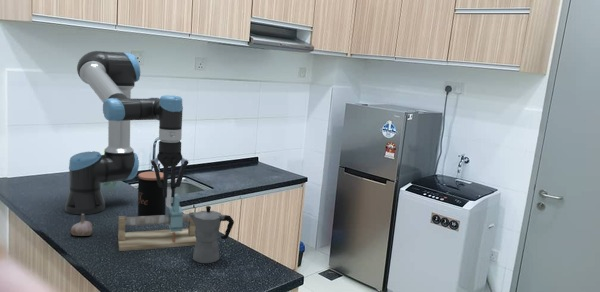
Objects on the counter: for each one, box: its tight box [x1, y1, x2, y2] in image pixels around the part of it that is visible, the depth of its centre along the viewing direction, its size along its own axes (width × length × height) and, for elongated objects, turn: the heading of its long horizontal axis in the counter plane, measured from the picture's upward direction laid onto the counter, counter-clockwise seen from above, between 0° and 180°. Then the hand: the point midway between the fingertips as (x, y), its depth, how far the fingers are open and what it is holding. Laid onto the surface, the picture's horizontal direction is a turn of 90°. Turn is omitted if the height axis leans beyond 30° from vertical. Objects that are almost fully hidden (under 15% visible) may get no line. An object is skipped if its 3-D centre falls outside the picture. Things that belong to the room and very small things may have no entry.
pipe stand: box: [117, 211, 197, 252], centre depth 167 cm, size 13×26×10 cm, turn 112°
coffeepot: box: [188, 205, 235, 264], centre depth 156 cm, size 15×9×18 cm, turn 82°
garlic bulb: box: [70, 214, 94, 237], centre depth 168 cm, size 8×7×8 cm
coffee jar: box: [137, 171, 166, 216], centre depth 189 cm, size 11×11×18 cm
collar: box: [167, 193, 184, 232], centre depth 168 cm, size 7×4×12 cm, turn 22°
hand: (168, 205), depth 167 cm, fingers closed
